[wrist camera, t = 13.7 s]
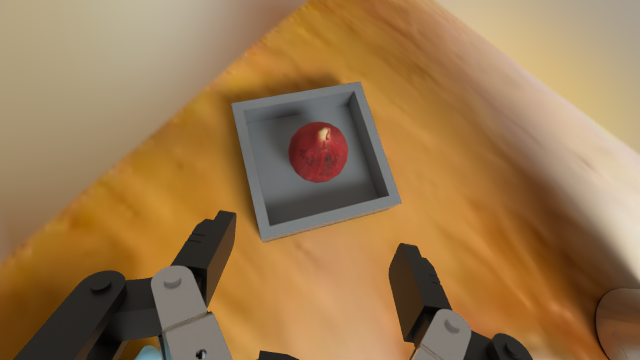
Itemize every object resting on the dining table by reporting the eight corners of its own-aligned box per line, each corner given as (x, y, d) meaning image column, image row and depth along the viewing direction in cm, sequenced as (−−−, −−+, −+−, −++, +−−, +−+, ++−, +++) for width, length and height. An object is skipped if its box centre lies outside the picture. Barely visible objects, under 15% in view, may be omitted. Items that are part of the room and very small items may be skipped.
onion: (344, 185, 31) (365, 161, 24) (292, 194, 30) (296, 171, 23) (333, 137, 33) (350, 99, 25) (283, 144, 32) (284, 106, 24)
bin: (351, 100, 36) (360, 81, 32) (387, 209, 32) (401, 202, 29) (236, 121, 33) (231, 103, 29) (263, 242, 30) (261, 239, 26)
